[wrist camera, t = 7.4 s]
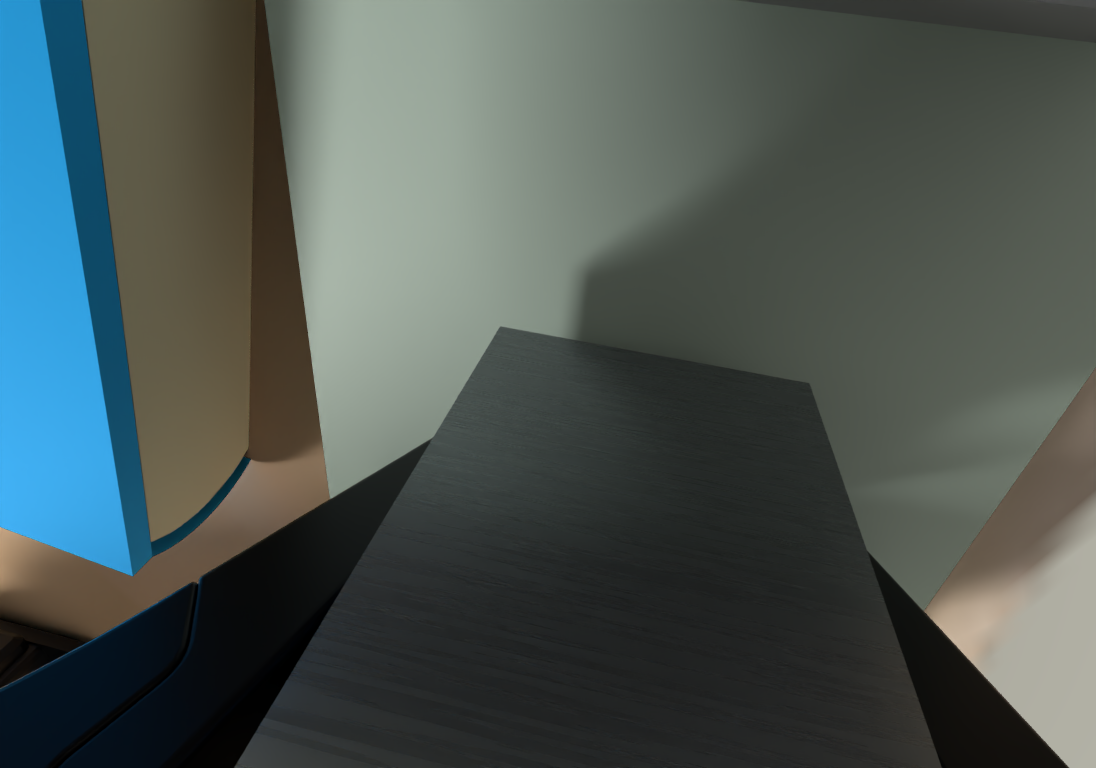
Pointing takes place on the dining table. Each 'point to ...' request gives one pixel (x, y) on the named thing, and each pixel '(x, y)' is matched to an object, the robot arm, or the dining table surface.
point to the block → (609, 587)
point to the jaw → (974, 14)
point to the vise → (703, 223)
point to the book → (124, 269)
